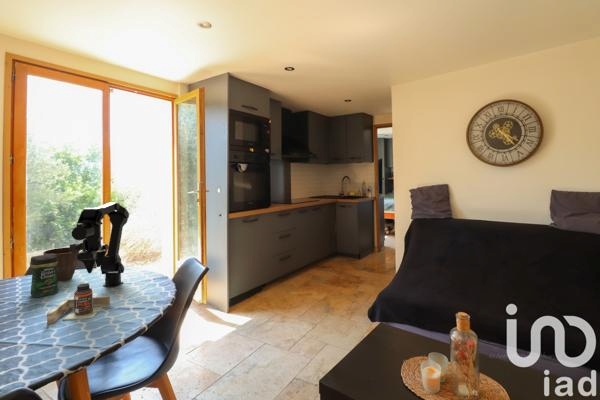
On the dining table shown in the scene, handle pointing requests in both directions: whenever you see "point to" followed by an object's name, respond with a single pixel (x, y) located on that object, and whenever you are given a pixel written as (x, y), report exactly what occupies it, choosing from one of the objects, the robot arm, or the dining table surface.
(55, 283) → the coffee jar
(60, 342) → the dining table surface
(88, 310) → the supplement bottle
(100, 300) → the arena
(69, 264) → the plant pot
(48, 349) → the dining table surface
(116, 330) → the dining table surface
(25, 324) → the dining table surface
